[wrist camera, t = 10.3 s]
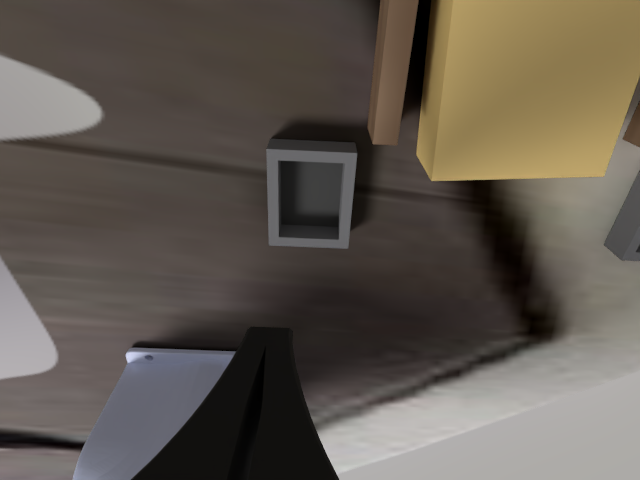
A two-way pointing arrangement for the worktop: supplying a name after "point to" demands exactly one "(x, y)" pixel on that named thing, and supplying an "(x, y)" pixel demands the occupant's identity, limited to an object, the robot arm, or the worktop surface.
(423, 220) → the worktop surface
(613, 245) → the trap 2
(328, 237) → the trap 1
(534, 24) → the block
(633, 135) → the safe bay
